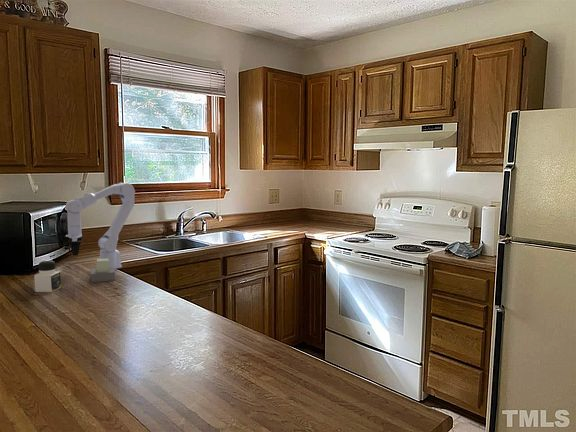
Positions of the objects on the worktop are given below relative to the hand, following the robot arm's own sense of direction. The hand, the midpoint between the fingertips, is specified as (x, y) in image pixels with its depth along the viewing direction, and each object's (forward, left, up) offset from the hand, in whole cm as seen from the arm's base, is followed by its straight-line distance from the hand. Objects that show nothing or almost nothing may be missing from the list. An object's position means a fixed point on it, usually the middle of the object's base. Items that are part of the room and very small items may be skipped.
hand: (75, 253), depth 209 cm
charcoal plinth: (+2, +18, -10) cm, 21 cm away
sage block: (+2, +18, -6) cm, 19 cm away
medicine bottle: (+25, +11, -10) cm, 29 cm away
